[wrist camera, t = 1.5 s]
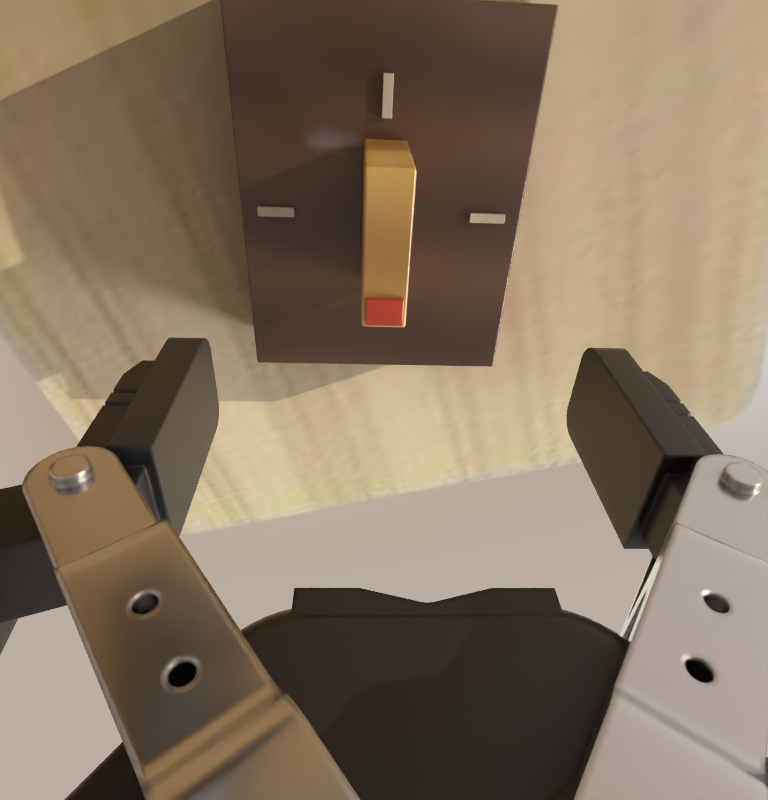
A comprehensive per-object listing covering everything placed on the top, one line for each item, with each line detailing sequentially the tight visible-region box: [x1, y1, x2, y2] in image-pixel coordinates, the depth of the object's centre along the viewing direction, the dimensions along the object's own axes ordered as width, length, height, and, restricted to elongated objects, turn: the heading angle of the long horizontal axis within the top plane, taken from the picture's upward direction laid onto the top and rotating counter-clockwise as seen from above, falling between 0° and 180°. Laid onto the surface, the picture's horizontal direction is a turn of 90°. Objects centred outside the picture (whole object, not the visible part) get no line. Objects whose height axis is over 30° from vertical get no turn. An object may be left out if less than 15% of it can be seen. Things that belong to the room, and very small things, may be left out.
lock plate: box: [220, 0, 558, 366], centre depth 23 cm, size 14×11×3 cm
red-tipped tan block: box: [361, 139, 417, 327], centre depth 20 cm, size 6×2×4 cm, turn 178°
